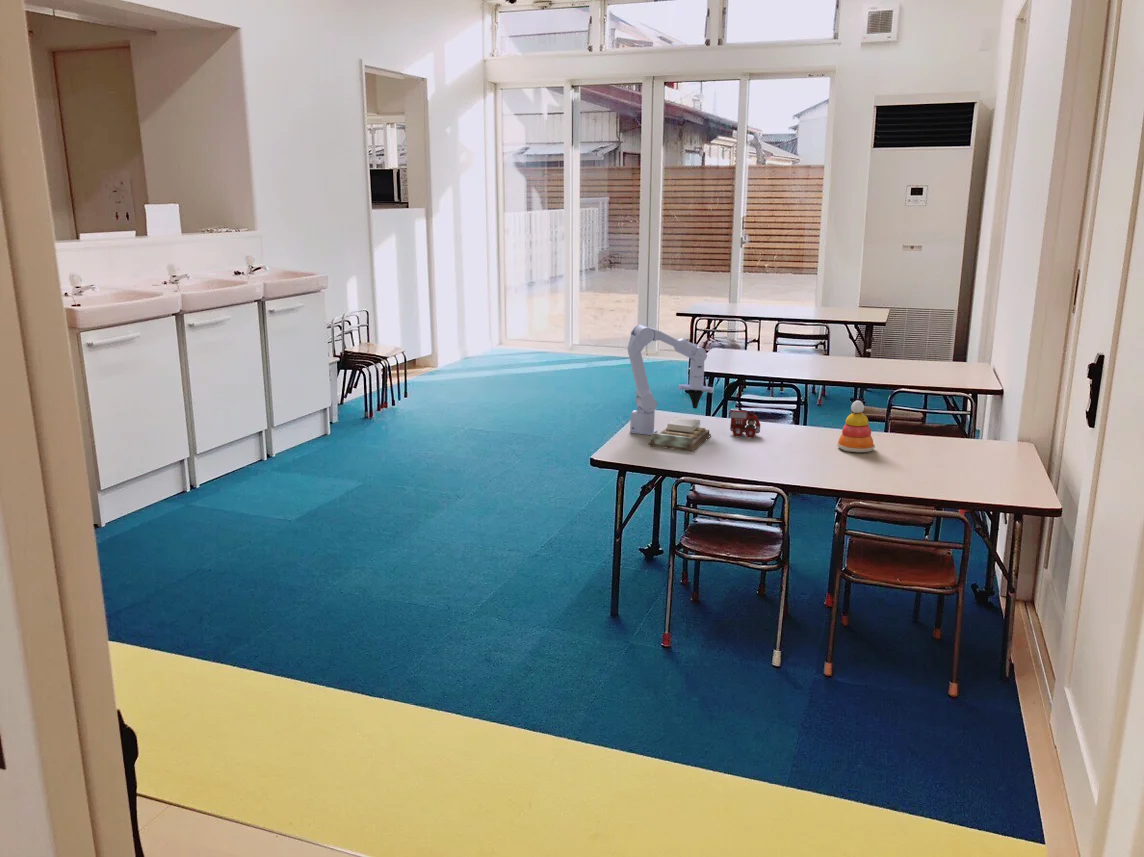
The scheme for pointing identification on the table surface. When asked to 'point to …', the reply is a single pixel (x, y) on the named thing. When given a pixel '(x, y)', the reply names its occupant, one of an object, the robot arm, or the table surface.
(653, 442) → the brown-green flat block
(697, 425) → the stone slab
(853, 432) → the stacking toy
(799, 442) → the table surface
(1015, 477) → the table surface
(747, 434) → the toy fire truck
